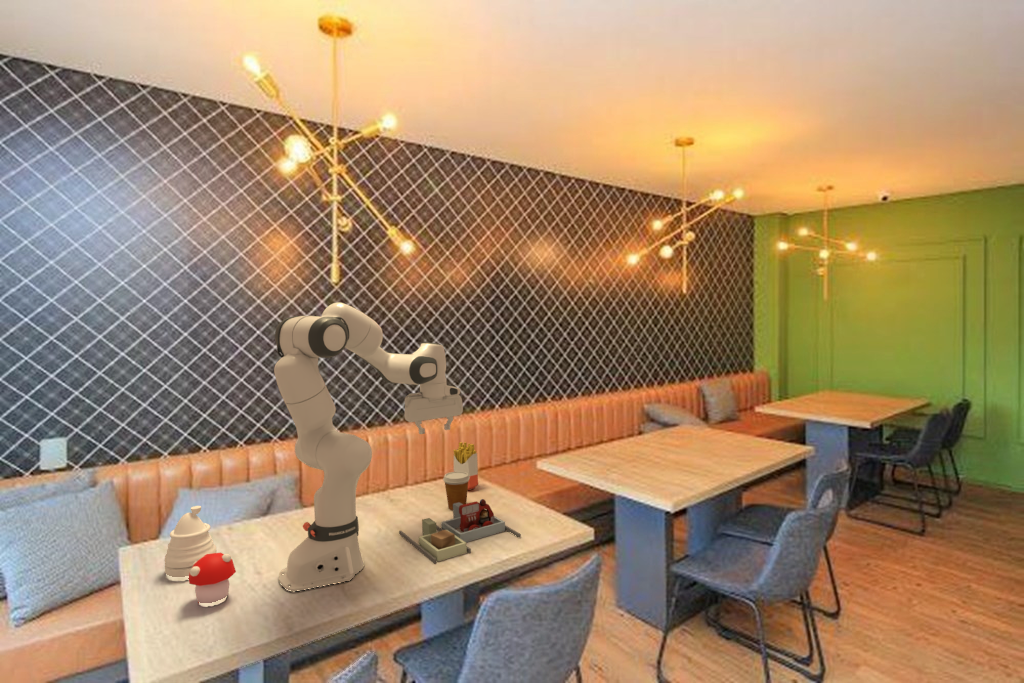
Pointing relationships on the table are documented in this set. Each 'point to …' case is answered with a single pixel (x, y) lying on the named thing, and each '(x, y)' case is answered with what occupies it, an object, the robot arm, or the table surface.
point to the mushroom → (212, 577)
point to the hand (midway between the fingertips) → (434, 431)
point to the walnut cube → (442, 539)
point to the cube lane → (441, 554)
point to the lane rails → (441, 530)
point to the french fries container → (467, 463)
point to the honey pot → (188, 544)
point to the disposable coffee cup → (456, 487)
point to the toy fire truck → (475, 515)
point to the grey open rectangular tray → (472, 534)
